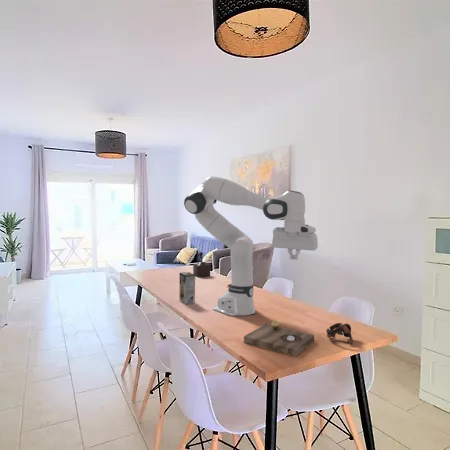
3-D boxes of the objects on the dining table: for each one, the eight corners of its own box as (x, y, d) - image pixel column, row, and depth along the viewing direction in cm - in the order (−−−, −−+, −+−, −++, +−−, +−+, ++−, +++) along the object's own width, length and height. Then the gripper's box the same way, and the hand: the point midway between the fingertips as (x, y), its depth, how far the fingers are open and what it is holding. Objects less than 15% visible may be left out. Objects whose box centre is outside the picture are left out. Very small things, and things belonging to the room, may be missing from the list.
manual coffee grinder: (211, 276, 268) (211, 253, 267) (199, 277, 262) (199, 254, 261) (201, 273, 281) (201, 251, 280) (189, 274, 275) (189, 252, 274)
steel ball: (285, 345, 132) (284, 336, 132) (289, 343, 134) (287, 334, 135) (293, 346, 130) (292, 336, 130) (297, 344, 132) (296, 334, 133)
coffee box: (178, 300, 196) (179, 272, 195) (189, 299, 198) (189, 271, 198) (184, 304, 187) (184, 275, 187) (195, 303, 190) (195, 274, 190)
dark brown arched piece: (349, 349, 130) (338, 330, 131) (330, 352, 136) (319, 334, 137) (361, 333, 138) (351, 315, 139) (343, 337, 145) (333, 320, 146)
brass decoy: (269, 329, 142) (269, 320, 142) (273, 326, 145) (273, 318, 145) (276, 330, 140) (277, 322, 140) (280, 328, 143) (280, 320, 143)
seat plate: (243, 342, 134) (243, 336, 134) (265, 329, 149) (265, 324, 149) (295, 356, 121) (295, 349, 121) (314, 341, 136) (314, 335, 136)
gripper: (269, 227, 152) (269, 257, 152) (314, 229, 140) (313, 262, 140) (276, 226, 157) (275, 256, 157) (319, 228, 145) (318, 260, 145)
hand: (293, 259), depth 149 cm, fingers closed
